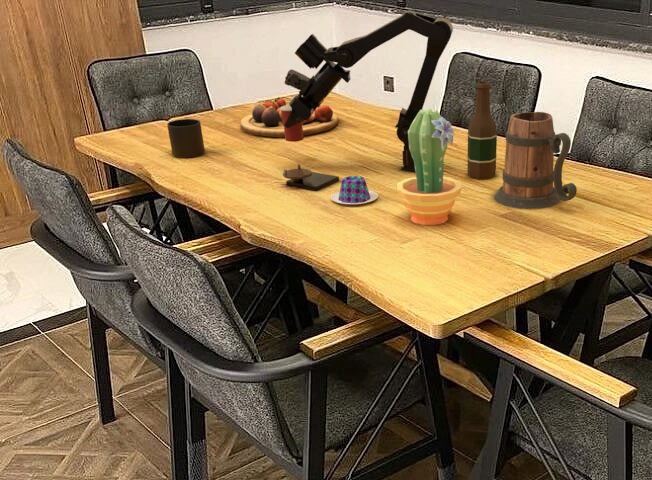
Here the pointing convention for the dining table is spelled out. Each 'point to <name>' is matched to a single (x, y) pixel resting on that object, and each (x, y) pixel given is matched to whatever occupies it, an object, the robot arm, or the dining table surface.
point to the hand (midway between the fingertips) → (288, 124)
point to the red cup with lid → (294, 131)
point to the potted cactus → (429, 170)
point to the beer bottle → (482, 137)
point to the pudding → (354, 191)
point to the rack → (308, 179)
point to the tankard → (534, 163)
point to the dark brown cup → (186, 138)
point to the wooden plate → (270, 120)
